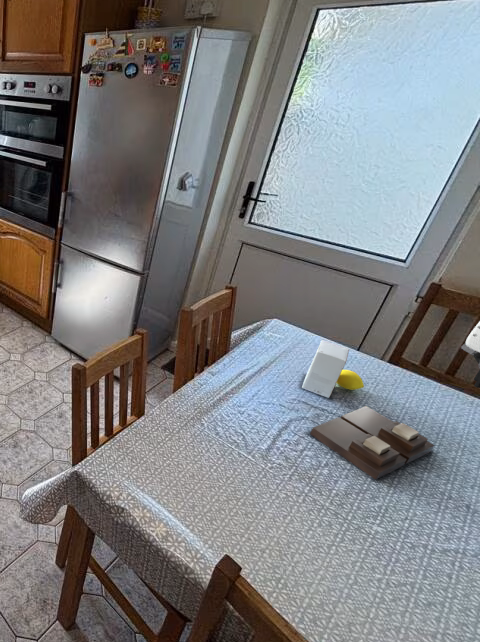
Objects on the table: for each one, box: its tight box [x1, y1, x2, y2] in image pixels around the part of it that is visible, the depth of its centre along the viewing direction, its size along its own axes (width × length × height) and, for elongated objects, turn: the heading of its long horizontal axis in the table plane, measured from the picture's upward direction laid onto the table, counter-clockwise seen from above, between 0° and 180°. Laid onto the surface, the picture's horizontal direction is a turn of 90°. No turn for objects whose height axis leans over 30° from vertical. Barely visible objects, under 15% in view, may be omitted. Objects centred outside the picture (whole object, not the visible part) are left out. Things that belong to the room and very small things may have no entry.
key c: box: [392, 422, 420, 441], centre depth 98 cm, size 3×3×2 cm
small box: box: [301, 339, 350, 399], centre depth 117 cm, size 8×6×13 cm
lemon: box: [336, 369, 365, 391], centre depth 118 cm, size 7×5×5 cm
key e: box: [363, 436, 390, 455], centre depth 95 cm, size 3×3×2 cm
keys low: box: [340, 405, 435, 465], centre depth 102 cm, size 14×10×4 cm
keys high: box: [309, 416, 407, 480], centre depth 99 cm, size 14×10×4 cm
